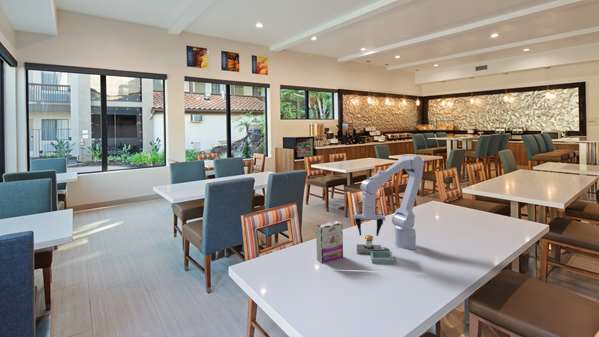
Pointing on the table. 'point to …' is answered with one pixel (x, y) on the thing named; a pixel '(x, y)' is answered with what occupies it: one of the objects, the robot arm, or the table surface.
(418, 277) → the table surface
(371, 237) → the pin
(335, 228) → the candy bar box
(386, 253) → the tray
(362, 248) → the plate
